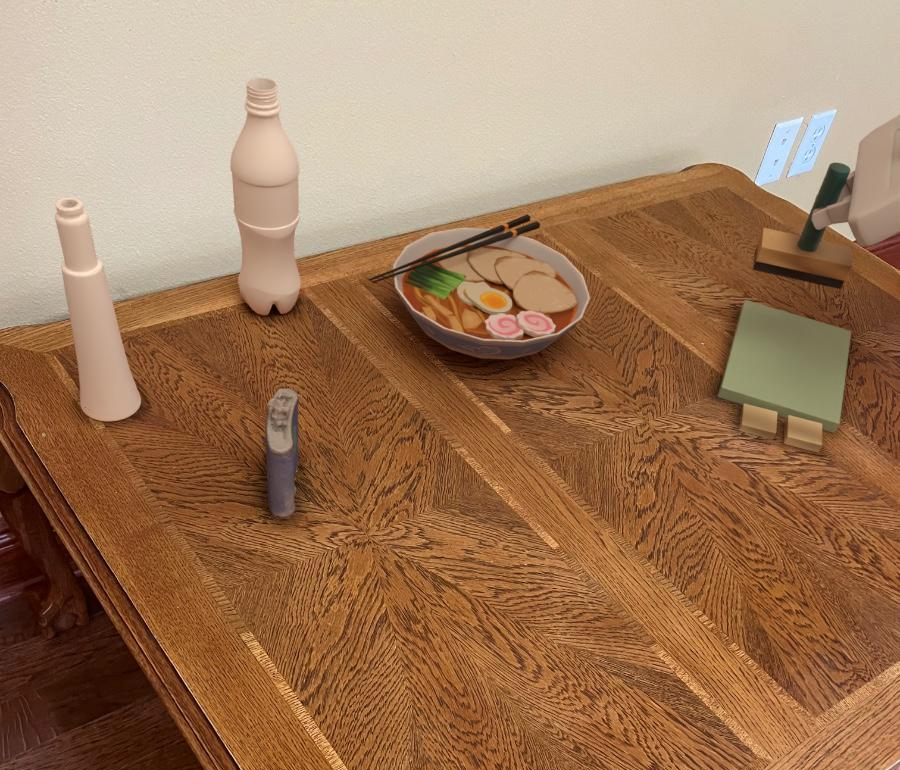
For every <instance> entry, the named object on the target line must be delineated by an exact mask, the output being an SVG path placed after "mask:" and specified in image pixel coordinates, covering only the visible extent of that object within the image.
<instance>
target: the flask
mask: <svg viewBox="0 0 900 770" xmlns="http://www.w3.org/2000/svg"><path fill="white" fill-rule="evenodd" d="M299 397H300V396H299V394H298V392H296V391H295V390H294V389H292V388H290V387H289V388H288V387H287V388H286V387H284V388H280V389H277V390H276V391H275V392H274V394H273V396H272V398H271V399H269V401H268V402H267V406H268V408H267V411H266V417H265V426H264V427H265V428H264V433H265V451H266V478H267V481H266V483H267V484H266V486H267V503H268V508H269V512H270V515H271V516H272V517H273V518H274V519H276V520H290V519H291V517H293V516H294V513H295V509H296V504H295V503H296V502H295V497H296V493H297V487H296V485H295V481H297V478H296V474H297V472H298V467H299V399H300V398H299Z"/></svg>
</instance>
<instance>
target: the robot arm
mask: <svg viewBox="0 0 900 770" xmlns="http://www.w3.org/2000/svg"><path fill="white" fill-rule="evenodd" d="M857 149H858V150H857V155H856V163H855V170H853V171H850V173H849V175H848V178H847V180H846V182H845V185H844V187H843V189H842V192H841V194H840V196H839V199H838V201H837V203H836V204H833V205H828V203H827V204H825V205H823V206H821V207H819V208H816V209H815V210H814V211H813V214H812V219H811V220H812V222H813V225H814V227H815V228H816V229H818V230H820V229H822V228H825V227H826V228H827V227H829V226H831V225H835V224H844V223H848V226H849V228H850V231H851V233H852V235H853V238H854V239H855V241H856V243H857V245H858V246H859V247H861V248H862V247H864V248H865V247H871V246H875V245H877V244H879V243H881V242H883V241H885V240H887V239H890V238H892V237H893V236H895V235H897V234H900V114H899V115H897V116H895V117H893V118H891V119H889V120H888V121H886V122H885V123H883V124H881V125H879V126H878V127H876V128H874V129H873V130H872V131H870V132H869V133H867V134H866V135H865V136H864V137H862V138H861V140H860V141H859V143H858V148H857ZM817 195H818V194H816V195H815V199H816V197H817ZM815 199H814V200H815Z"/></svg>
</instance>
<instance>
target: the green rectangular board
mask: <svg viewBox="0 0 900 770" xmlns="http://www.w3.org/2000/svg"><path fill="white" fill-rule="evenodd" d="M851 337H852V331H851V330H849V329H846V328H843V327H839V326H836V325H832V324H829V323H825V322H823V321H818V320H815V319H812V318H808V317H806V316H803V315H799V314H795V313H792V312H789V311H784V310H782V309H779V308H775V307H772V306H768V305H764V304H761V303H758V302H754V301H751V300H748V299H744V300H743V303H742V305H741V307H740V312H739V314H738V319H737V322H736V325H735V330H734V333H733V336H732V341H731V344H730V349H729V352H728V356H727V358H726V359H727V360H726V363H725V367H724V371H723V374H722V377H721V382H720V385H719V388H718V393H717V398H720V399H722V400H726V401H729V402H731V403H736V404H739V405H741V406H743V404H744V403H745V404H749V405H753V406H757V407H761V408H764V409H768V410H772V411H776V412H778V413H777V417H781V418H784V419H785V420H786V419H787V417H788V415H791V416H795V417H799V418H803V419H807V420H810V421H814V422H818V423H822V431H825V432H828V433H831V434H835V433H836V431H837V430H838V427H839V425H841V418H842V417H841V415H842V407H843V399H844V392H845V384H846V376H847V368H848V360H849V353H850V345H851Z"/></svg>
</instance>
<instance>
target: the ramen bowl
mask: <svg viewBox="0 0 900 770" xmlns="http://www.w3.org/2000/svg"><path fill="white" fill-rule="evenodd" d="M531 218H532V216H531V215H529V214H525V215H522V216H520V217H517V218H515V219H513V220H510V221H507V222H505V223H504V224H500V225H498V226H495V227H492V228H482V227H457V228H451V229H445V230H438V231H433V232H429V233H428V234H425V235H424V236H422V237H420V238H417V239H416V240H414V241H413V242H411V243H408V244H407V245H405V247H404V248H403V250H402V251H401V253H400V254H399V255H398V257H397V258H396V259H395V261H394V263H393V264H392V268H393V269H390V270H388V271H386V272H383V273H381V274H378V275H376V276H373V277H371V278H369V281H371V282H372V284H374V283H377V282H381V281H383V280H386V279H390V278H394V288H395V290H396V293H397V295H398V298H399V299H400V301H401V302H402V304H403V306H404V307H405V308H406V310H407V311H408V312H409V315H411V317H412V318H413V319H414V320H415V322H416V324H417V325H418V326H419V327H420V329H421V330H422V331H423V332H424V333H425V334H426V335H427V336H428V337H429V338H431V339H432V340H434V341H436V342H438V343H439V344H441V345H442V346H444V347H446V348H447V349H449V350H451V351H454V352H457V353H461V354H464V355H467V356H470V357H474V358H477V359H488V360H489V359H491V360H513V359H517V358H522V357H526V356H531V355H535V354H537V353H539V352H541V351H543V350H545V349H546V348H547V347H549V346H551V345H552V344H553V343H554V342H556V341H557V340H559V339H561V337H563V336H564V335H566V334H567V333H568V332H569V331H572V330H573V329H574V327H575V326H576V325H577V324H579V322H580V321H581V320H582V319H583V316H584V314H585V312H586V309H587V306H588V304H589V302H590V300H591V295H590V292H589V290H588V289H589V288H588V285H587V283H586V280H585V277H584V275H583V273H581V271H580V270H579V269H577V267H576V266H575V265H574V264H573V263H572V262H571V261H570V260H569V259H568V258H567V256H565V254H562V253H561V252H559V251H557V250H555V249H553V248H551V247H549V246H548V245H546V244H544V243H542V242H541V241H539V240H537V239H535V238H531V237H527V236H524V235H523V234H526V233H529V232H532V231H536V230H539V229H540V227H541V222H539V221H533V222H531ZM529 222H531V223H529ZM526 223H528V224H526ZM523 224H525V225H523ZM520 225H523V226H520ZM519 226H520V227H519ZM515 227H517V228H515ZM513 228H515V229H513ZM510 229H513V230H510ZM506 230H509V231H506Z"/></svg>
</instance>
